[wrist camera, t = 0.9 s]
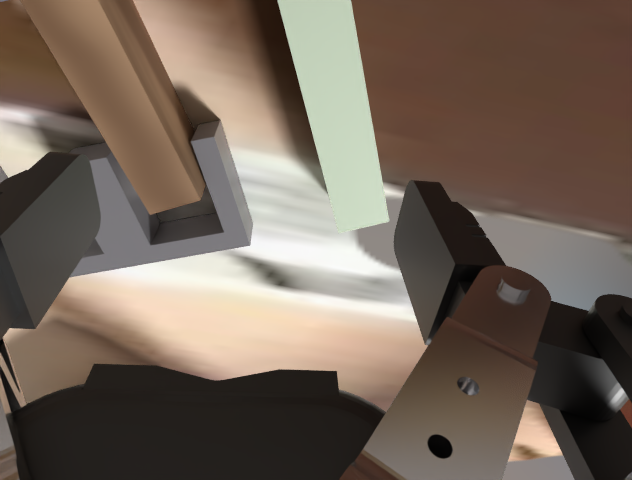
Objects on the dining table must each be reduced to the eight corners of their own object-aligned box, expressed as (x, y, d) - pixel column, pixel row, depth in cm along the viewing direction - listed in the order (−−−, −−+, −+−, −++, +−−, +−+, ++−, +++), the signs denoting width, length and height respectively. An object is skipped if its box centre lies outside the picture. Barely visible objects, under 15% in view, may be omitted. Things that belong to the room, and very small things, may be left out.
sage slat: (331, -61, 24) (339, -62, 20) (376, 186, 33) (389, 221, 29) (270, -43, 24) (267, -40, 20) (332, 197, 33) (338, 233, 29)
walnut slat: (85, -105, 22) (39, -115, 18) (212, 166, 31) (200, 200, 27) (25, -82, 23) (-33, -87, 18) (167, 179, 32) (150, 214, 27)
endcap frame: (101, -261, 19) (73, -290, 16) (252, 223, 34) (250, 245, 31) (-258, -171, 20) (-334, -186, 17) (43, 260, 35) (25, 285, 32)
